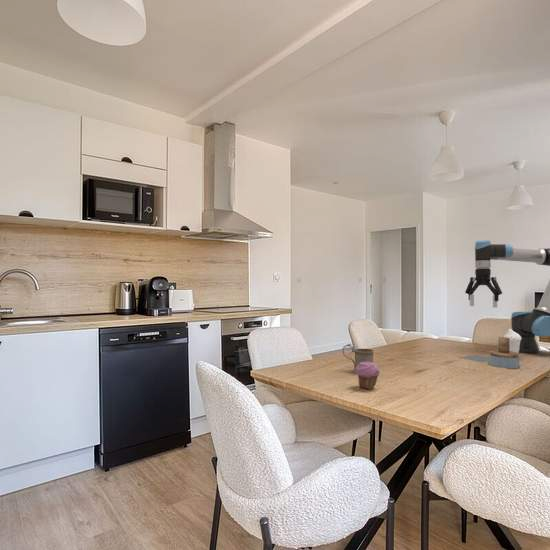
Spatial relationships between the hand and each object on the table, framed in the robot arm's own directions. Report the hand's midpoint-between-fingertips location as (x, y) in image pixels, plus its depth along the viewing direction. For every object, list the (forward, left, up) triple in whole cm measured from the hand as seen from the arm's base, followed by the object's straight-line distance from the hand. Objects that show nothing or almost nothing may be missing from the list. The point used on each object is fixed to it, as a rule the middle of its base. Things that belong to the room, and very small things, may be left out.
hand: (483, 306), depth 215 cm
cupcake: (+102, +22, -27) cm, 108 cm away
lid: (+17, +22, -22) cm, 35 cm away
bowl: (+17, +22, -27) cm, 39 cm away
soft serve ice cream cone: (-3, +14, -27) cm, 30 cm away
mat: (+13, +6, -27) cm, 30 cm away
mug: (+87, -1, -27) cm, 91 cm away
